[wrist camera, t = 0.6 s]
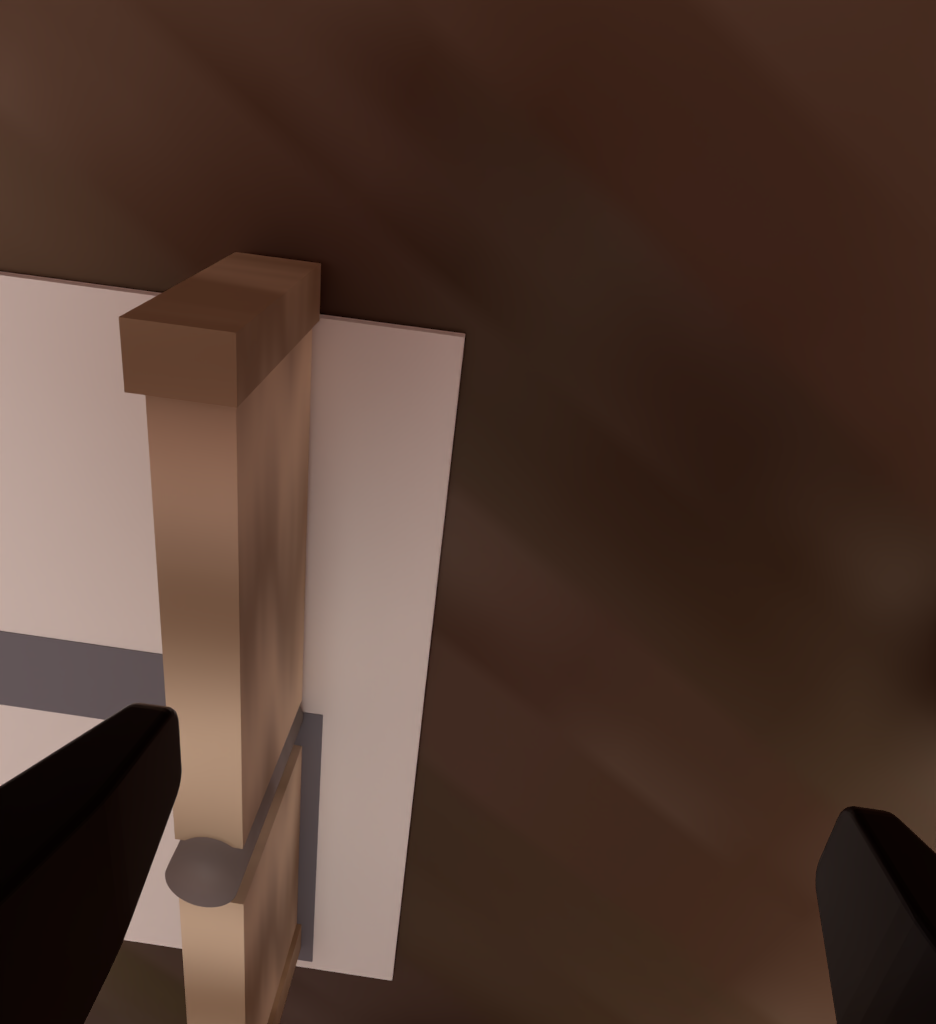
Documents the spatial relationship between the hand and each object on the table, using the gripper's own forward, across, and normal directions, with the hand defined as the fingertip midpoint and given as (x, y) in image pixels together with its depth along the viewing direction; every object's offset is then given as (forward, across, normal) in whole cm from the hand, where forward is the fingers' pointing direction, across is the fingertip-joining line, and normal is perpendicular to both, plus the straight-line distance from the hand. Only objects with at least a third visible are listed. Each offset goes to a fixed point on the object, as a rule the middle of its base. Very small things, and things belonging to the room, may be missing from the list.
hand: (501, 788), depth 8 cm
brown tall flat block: (+11, +5, +4) cm, 13 cm away
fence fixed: (+12, +6, +16) cm, 20 cm away
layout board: (+12, +10, +10) cm, 19 cm away
